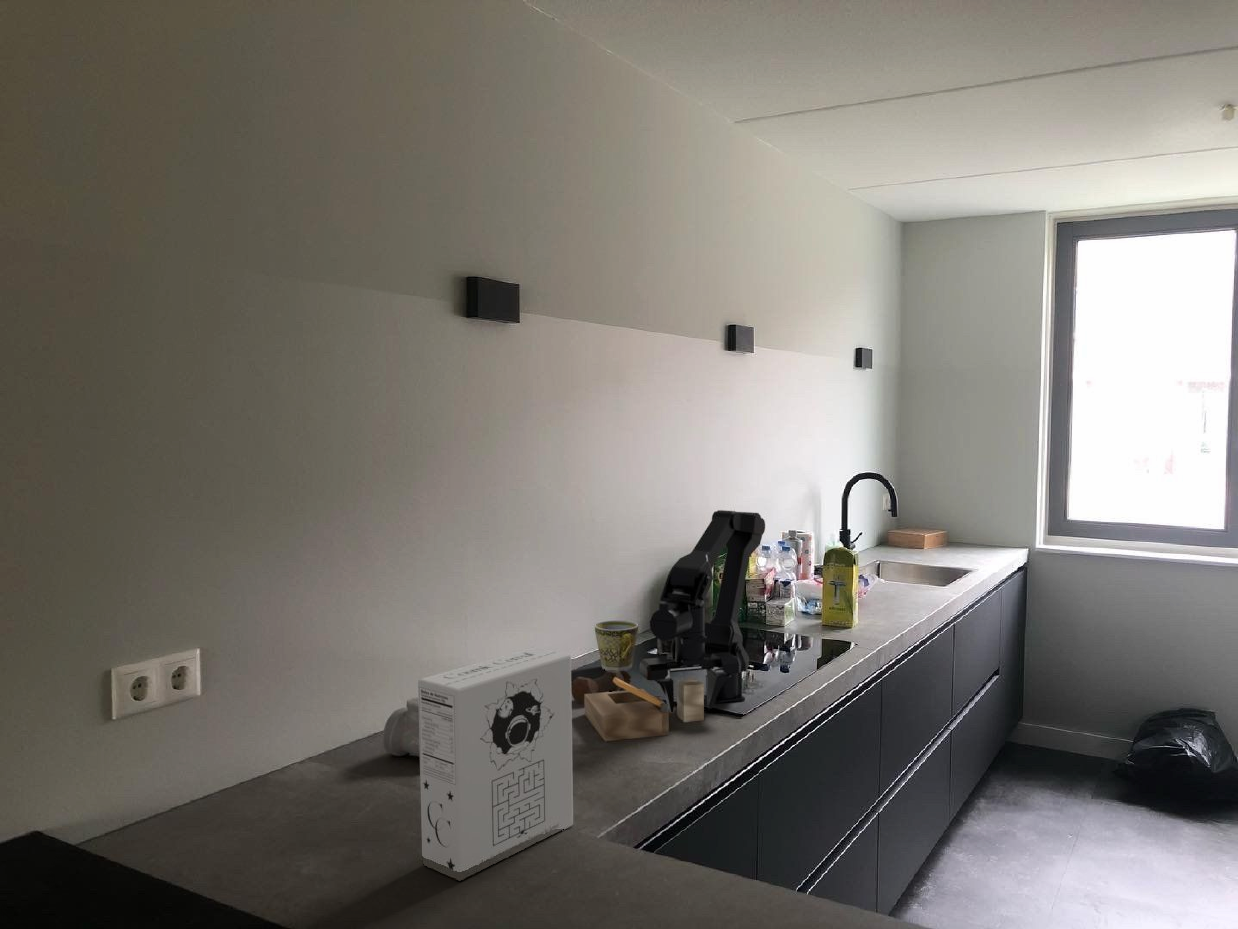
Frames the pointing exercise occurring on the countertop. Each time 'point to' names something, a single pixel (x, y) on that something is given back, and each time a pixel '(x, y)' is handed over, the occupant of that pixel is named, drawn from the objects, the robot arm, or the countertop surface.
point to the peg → (690, 700)
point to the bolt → (597, 684)
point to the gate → (638, 692)
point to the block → (625, 715)
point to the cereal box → (495, 755)
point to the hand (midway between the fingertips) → (690, 710)
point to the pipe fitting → (403, 730)
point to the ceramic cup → (616, 644)
